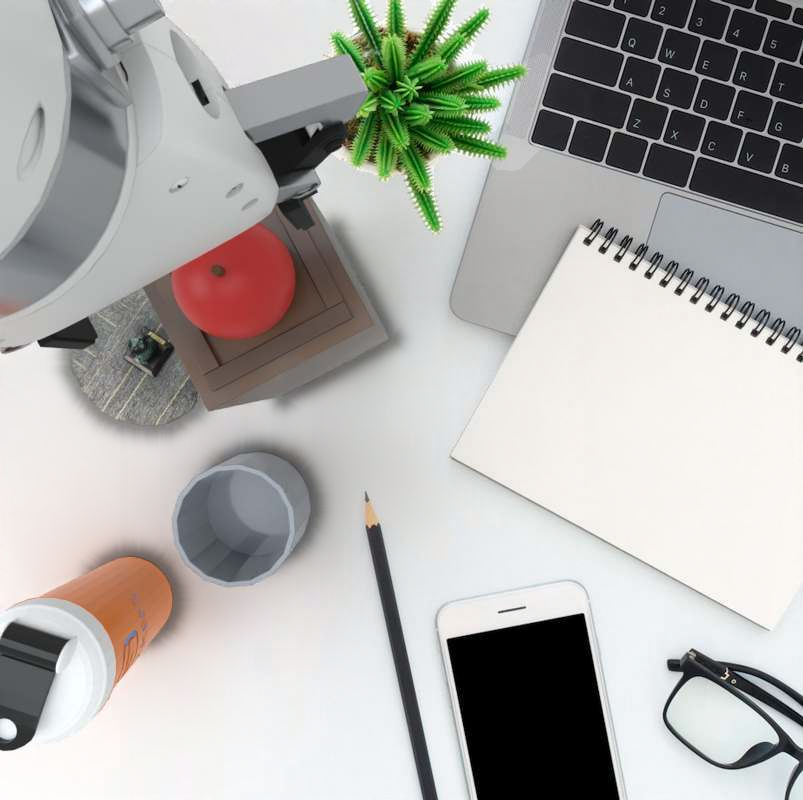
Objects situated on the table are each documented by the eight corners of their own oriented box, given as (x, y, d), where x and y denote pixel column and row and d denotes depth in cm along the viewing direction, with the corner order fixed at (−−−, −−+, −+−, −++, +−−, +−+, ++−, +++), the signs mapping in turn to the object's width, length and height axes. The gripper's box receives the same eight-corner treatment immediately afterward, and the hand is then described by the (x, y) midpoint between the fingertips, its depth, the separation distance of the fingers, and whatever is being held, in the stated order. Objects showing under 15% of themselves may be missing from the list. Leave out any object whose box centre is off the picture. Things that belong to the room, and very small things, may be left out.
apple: (170, 260, 44) (125, 241, 38) (270, 207, 44) (243, 178, 37) (223, 361, 45) (188, 360, 38) (323, 308, 44) (305, 297, 38)
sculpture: (221, 280, 69) (204, 342, 63) (229, 365, 75) (215, 428, 69) (72, 273, 68) (42, 335, 62) (93, 359, 74) (68, 422, 69)
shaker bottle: (70, 642, 70) (-69, 752, 50) (85, 537, 69) (-49, 605, 49) (176, 659, 70) (79, 776, 50) (191, 554, 69) (100, 629, 49)
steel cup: (185, 482, 69) (150, 499, 60) (279, 433, 69) (258, 443, 60) (235, 576, 69) (208, 607, 60) (329, 528, 69) (316, 552, 60)
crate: (224, 287, 68) (116, 243, 44) (332, 230, 68) (284, 153, 44) (281, 396, 69) (205, 412, 44) (389, 339, 68) (373, 323, 44)
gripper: (224, -286, 15) (331, 60, 32) (-567, 166, 16) (-54, 271, 33) (415, 82, 15) (421, 233, 33) (-379, 512, 16) (36, 438, 33)
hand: (181, 252), depth 33 cm, fingers open, 9 cm apart
